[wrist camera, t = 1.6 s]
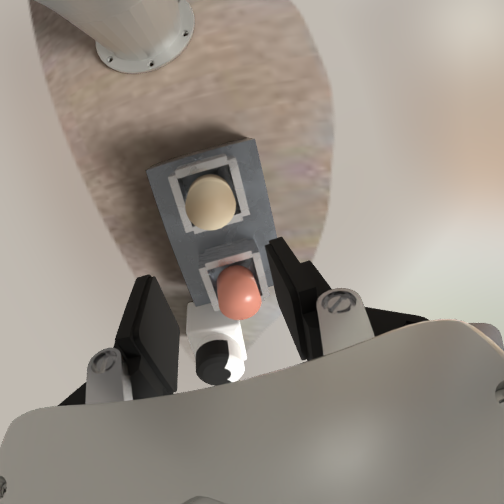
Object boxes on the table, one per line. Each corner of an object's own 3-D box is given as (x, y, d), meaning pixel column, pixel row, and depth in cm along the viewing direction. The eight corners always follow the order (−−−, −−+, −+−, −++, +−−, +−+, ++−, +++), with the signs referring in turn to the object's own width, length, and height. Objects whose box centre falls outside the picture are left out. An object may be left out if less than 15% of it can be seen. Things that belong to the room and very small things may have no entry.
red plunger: (211, 271, 30) (213, 291, 26) (249, 260, 30) (256, 279, 27) (222, 302, 32) (225, 324, 28) (258, 292, 32) (265, 313, 28)
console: (153, 164, 32) (138, 175, 24) (247, 137, 33) (261, 140, 25) (196, 286, 40) (195, 324, 32) (276, 264, 41) (294, 297, 33)
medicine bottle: (197, 337, 44) (199, 395, 33) (186, 302, 41) (184, 359, 30) (241, 329, 45) (253, 386, 34) (234, 293, 42) (245, 349, 31)
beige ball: (182, 181, 26) (178, 189, 22) (225, 168, 26) (228, 175, 22) (195, 221, 27) (193, 236, 24) (236, 209, 28) (241, 222, 24)
